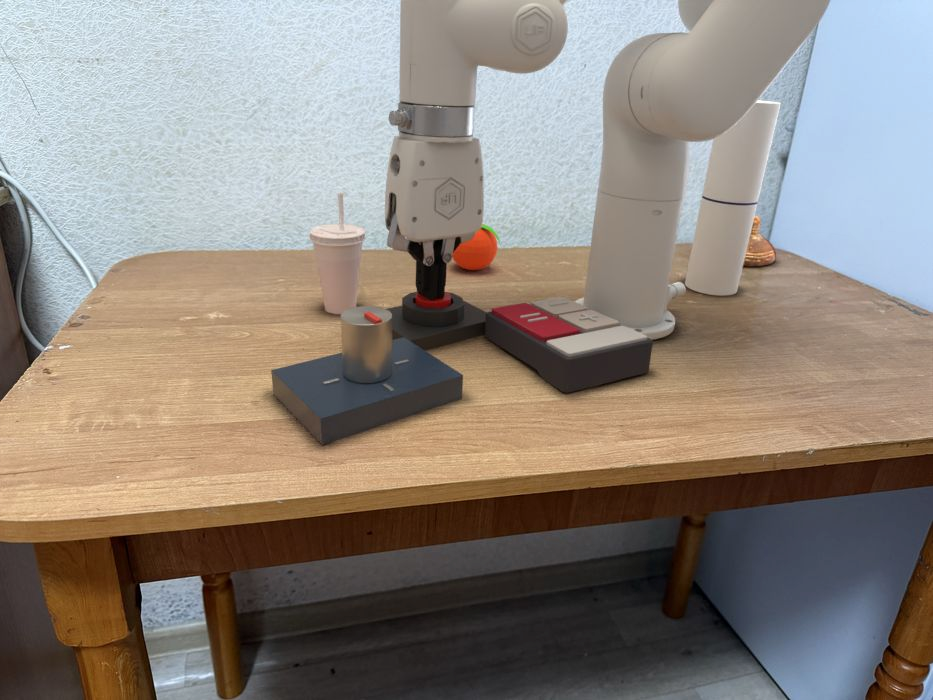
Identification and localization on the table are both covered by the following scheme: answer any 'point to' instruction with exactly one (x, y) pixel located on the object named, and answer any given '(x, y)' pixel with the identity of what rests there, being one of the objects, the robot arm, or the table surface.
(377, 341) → the knob
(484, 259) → the clementine
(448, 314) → the button block
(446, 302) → the button
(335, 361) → the panel
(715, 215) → the cylindrical container
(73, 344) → the table surface
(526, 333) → the calculator
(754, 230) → the bell
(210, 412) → the table surface
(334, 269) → the smoothie
